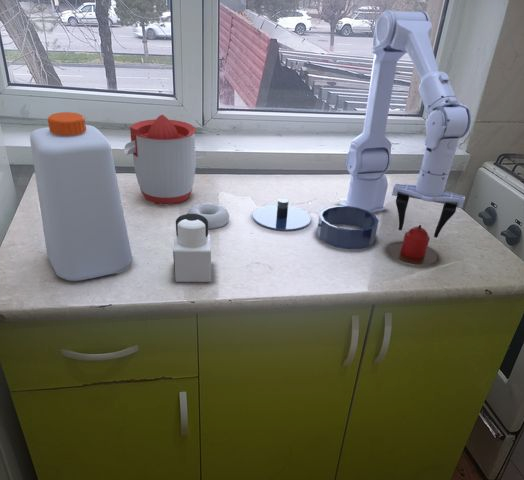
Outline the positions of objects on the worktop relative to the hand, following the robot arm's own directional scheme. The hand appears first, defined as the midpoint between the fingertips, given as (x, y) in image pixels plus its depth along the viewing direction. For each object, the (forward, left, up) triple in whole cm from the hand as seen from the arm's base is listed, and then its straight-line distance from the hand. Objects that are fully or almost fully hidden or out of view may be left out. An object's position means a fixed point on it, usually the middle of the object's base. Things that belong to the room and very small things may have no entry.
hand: (418, 231), depth 112 cm
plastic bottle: (+65, -26, -6) cm, 70 cm away
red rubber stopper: (0, 0, -5) cm, 5 cm away
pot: (+9, -13, -6) cm, 17 cm away
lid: (+18, -27, -5) cm, 33 cm away
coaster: (0, 0, -6) cm, 6 cm away
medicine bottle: (+48, -13, -6) cm, 50 cm away
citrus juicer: (+39, -51, -6) cm, 64 cm away
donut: (+35, -33, -6) cm, 48 cm away
